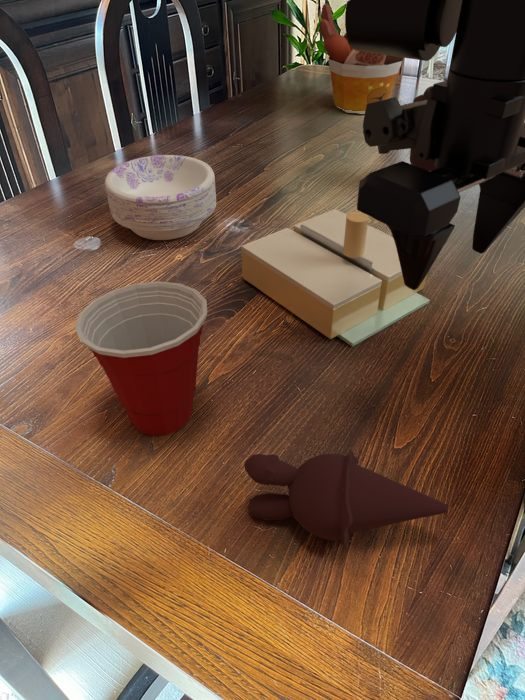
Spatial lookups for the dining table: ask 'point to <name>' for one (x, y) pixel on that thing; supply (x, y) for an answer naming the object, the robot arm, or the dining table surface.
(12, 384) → the dining table surface
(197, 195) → the paper bowls
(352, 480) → the icecream
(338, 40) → the bucket of meat
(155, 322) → the plastic cup
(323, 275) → the slotted wooden block
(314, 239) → the slicer
